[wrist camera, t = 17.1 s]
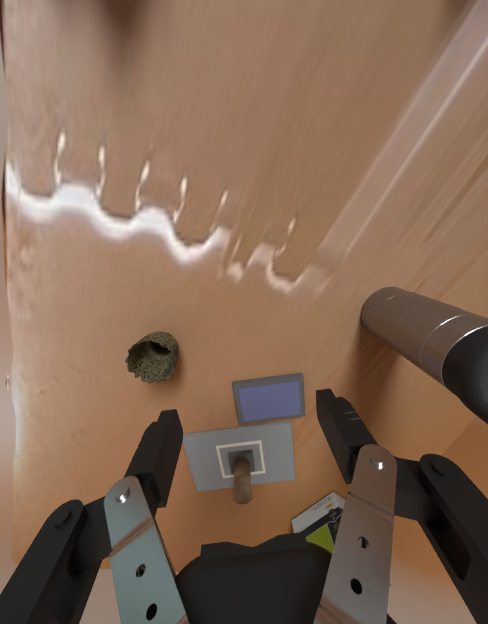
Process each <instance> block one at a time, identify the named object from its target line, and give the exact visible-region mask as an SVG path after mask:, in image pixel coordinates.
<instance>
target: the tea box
mask: <svg viewBox="0 0 488 624" xmlns="http://www.w3.org/2000/svg"><path fill="white" fill-rule="evenodd" d="M344 504H345V499H343V498H342V497H340V496H339V495H337V494H336V493H334V492H332V493H330V494H329V495H328V496H326V497H325V498H323V499H322V500H320V501H319V502H317V503H316V504H315V505H313V506H312V507H310V508H309V509H307V510H306V511H304V512H303V513H302V514H300V515H299V516H297V517H296V518H294V519H293V520H291V522H292V527H293V532H294V533H298V532H304V533H305V537H306V541H307V542H312V543H314V544H317V545H319V546H321V547H323V548H325V549H326V550H328V551H329V552H330V553H333V549H334V545H335V541H336V537H337V533H338V528H339V524H340V520H341V516H342V512H343V508H344ZM390 585H391V584H390V582H389V586H390Z"/></svg>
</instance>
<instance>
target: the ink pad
mask: <svg viewBox="0 0 488 624" xmlns="http://www.w3.org/2000/svg"><path fill="white" fill-rule="evenodd" d="M233 390H234V396H235V402H236V408H237V413H238V419H239V424H247V423H255V422H263V421H271V420H279V419H287V418H295V417H302V416H305V401H304V379H303V375H302V373H296V374H289V375H281V376H273V377H265V378H258V379H250V380H242V381H234V382H233Z"/></svg>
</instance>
